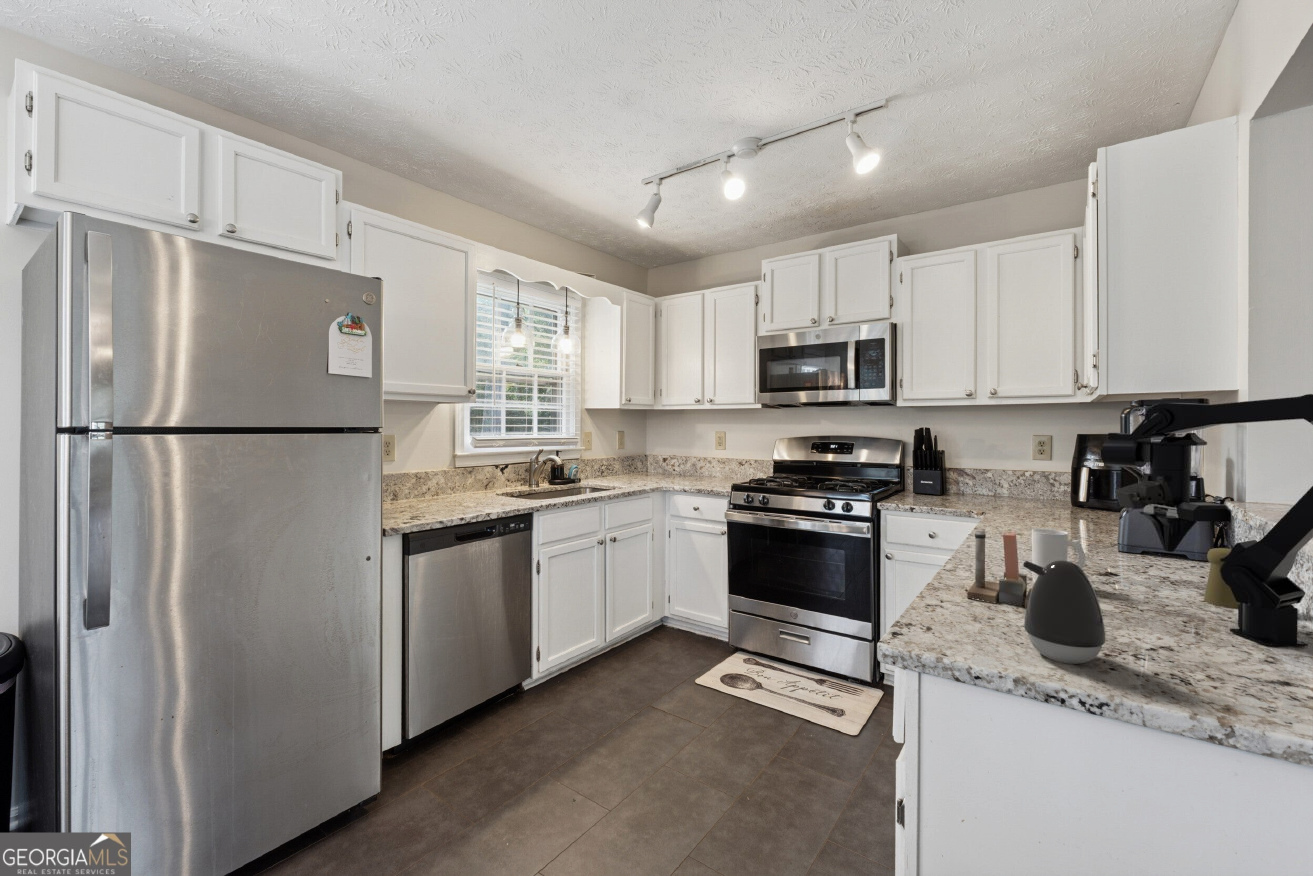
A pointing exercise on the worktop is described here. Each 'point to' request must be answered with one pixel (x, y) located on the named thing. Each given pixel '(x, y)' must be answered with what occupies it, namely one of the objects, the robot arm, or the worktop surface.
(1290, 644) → the robot arm
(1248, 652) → the worktop surface
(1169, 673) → the worktop surface
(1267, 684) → the worktop surface
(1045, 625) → the pump dispenser
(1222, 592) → the olive tapered cylinder
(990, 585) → the stand
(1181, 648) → the worktop surface
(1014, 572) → the adjuster lever
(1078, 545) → the mug
